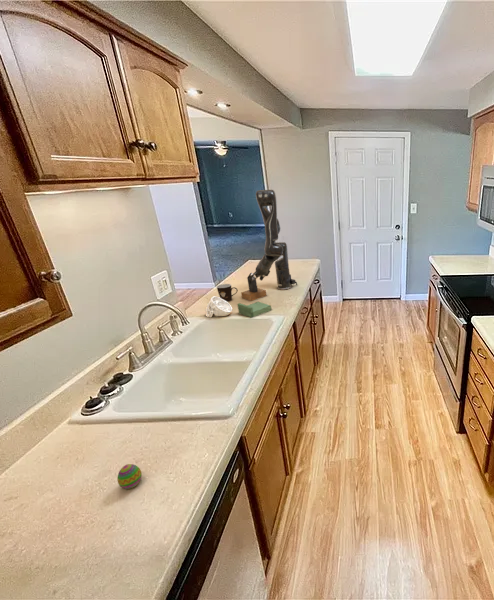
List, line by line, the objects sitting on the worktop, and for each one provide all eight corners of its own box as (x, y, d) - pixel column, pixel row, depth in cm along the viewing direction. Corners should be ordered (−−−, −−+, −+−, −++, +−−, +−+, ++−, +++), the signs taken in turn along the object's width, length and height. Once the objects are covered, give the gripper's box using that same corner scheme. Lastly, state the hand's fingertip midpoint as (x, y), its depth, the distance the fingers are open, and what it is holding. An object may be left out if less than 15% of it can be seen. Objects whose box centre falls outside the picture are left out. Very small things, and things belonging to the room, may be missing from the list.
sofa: (258, 306, 206) (257, 297, 203) (271, 310, 199) (270, 300, 197) (238, 313, 195) (237, 303, 193) (251, 317, 188) (249, 308, 186)
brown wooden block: (257, 293, 229) (256, 287, 227) (266, 295, 223) (265, 290, 222) (242, 298, 219) (241, 292, 218) (251, 300, 214) (250, 295, 213)
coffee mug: (216, 301, 213) (213, 287, 209) (226, 297, 220) (224, 283, 217) (229, 304, 209) (227, 289, 205) (240, 299, 216) (237, 285, 213)
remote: (253, 290, 222) (251, 277, 219) (257, 291, 220) (255, 278, 217) (249, 291, 220) (247, 278, 217) (253, 292, 218) (252, 279, 214)
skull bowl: (208, 309, 197) (215, 292, 193) (229, 321, 199) (237, 305, 195) (197, 315, 187) (205, 298, 183) (220, 328, 189) (228, 311, 185)
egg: (138, 489, 84) (131, 472, 82) (116, 493, 83) (109, 475, 81) (146, 474, 89) (141, 457, 87) (126, 477, 88) (120, 460, 86)
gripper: (270, 259, 212) (261, 274, 222) (250, 264, 200) (242, 279, 210) (276, 268, 211) (267, 282, 221) (257, 273, 200) (248, 288, 210)
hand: (255, 281), depth 216 cm, fingers open, 8 cm apart
